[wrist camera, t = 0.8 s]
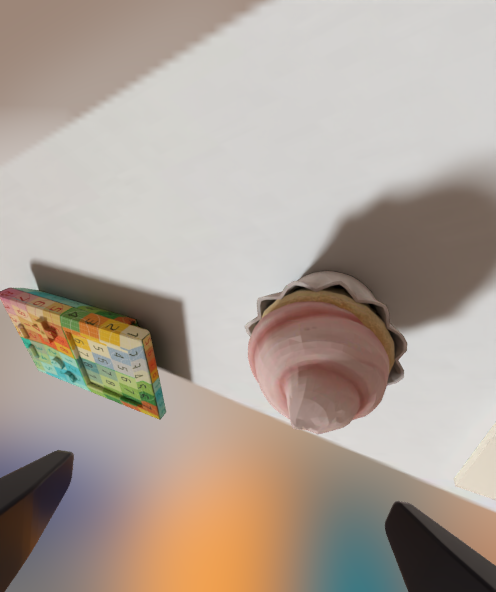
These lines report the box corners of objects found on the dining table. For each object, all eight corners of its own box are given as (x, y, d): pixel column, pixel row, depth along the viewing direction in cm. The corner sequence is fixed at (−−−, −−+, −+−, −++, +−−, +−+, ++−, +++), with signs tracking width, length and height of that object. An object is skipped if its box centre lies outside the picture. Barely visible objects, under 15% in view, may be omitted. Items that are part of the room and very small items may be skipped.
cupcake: (249, 267, 21) (171, 352, 13) (384, 229, 16) (395, 325, 8) (290, 362, 24) (249, 478, 16) (413, 354, 19) (442, 512, 11)
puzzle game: (-13, 296, 30) (135, 346, 24) (30, 278, 33) (167, 317, 27) (29, 372, 36) (155, 426, 30) (62, 349, 39) (179, 393, 34)
